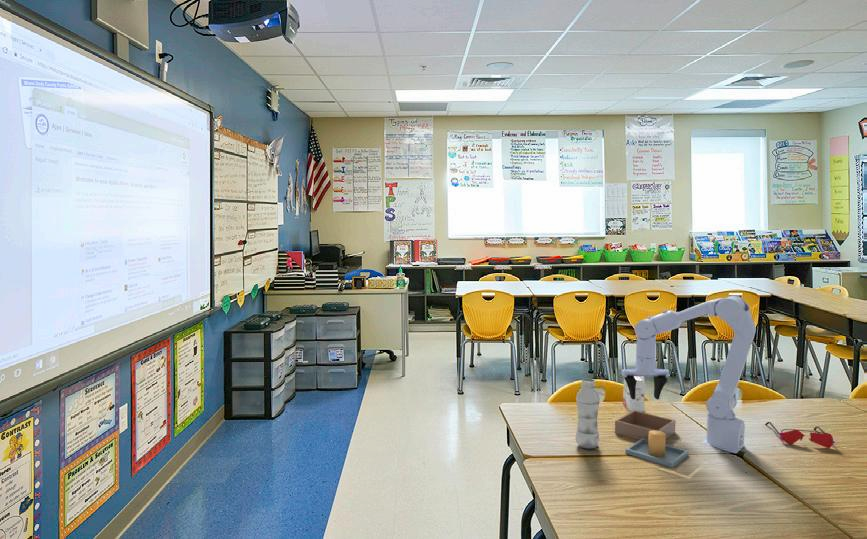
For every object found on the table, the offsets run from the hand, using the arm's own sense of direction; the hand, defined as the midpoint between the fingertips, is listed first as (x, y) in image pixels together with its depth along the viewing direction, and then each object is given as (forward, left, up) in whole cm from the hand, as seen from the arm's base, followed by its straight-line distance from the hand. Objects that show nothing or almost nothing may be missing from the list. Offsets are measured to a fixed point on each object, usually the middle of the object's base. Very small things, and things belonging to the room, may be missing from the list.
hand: (644, 398), depth 170 cm
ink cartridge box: (+10, -14, -10) cm, 20 cm away
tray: (-12, +19, -9) cm, 24 cm away
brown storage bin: (-3, +6, -9) cm, 12 cm away
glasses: (-37, -26, -10) cm, 46 cm away
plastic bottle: (+5, +27, -10) cm, 29 cm away
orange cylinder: (-12, +19, -9) cm, 24 cm away
